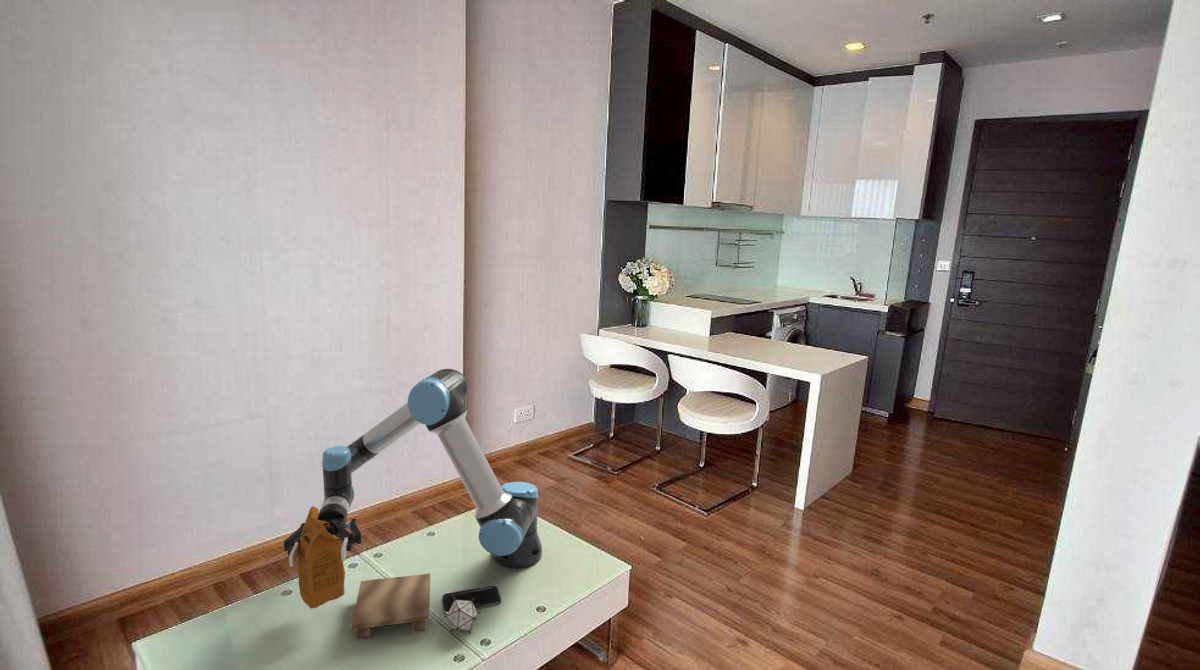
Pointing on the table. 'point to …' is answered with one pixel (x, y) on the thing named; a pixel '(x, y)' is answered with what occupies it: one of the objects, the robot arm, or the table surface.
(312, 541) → the coffee package
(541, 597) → the table surface
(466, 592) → the phone
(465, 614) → the game die
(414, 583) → the small wooden platform
